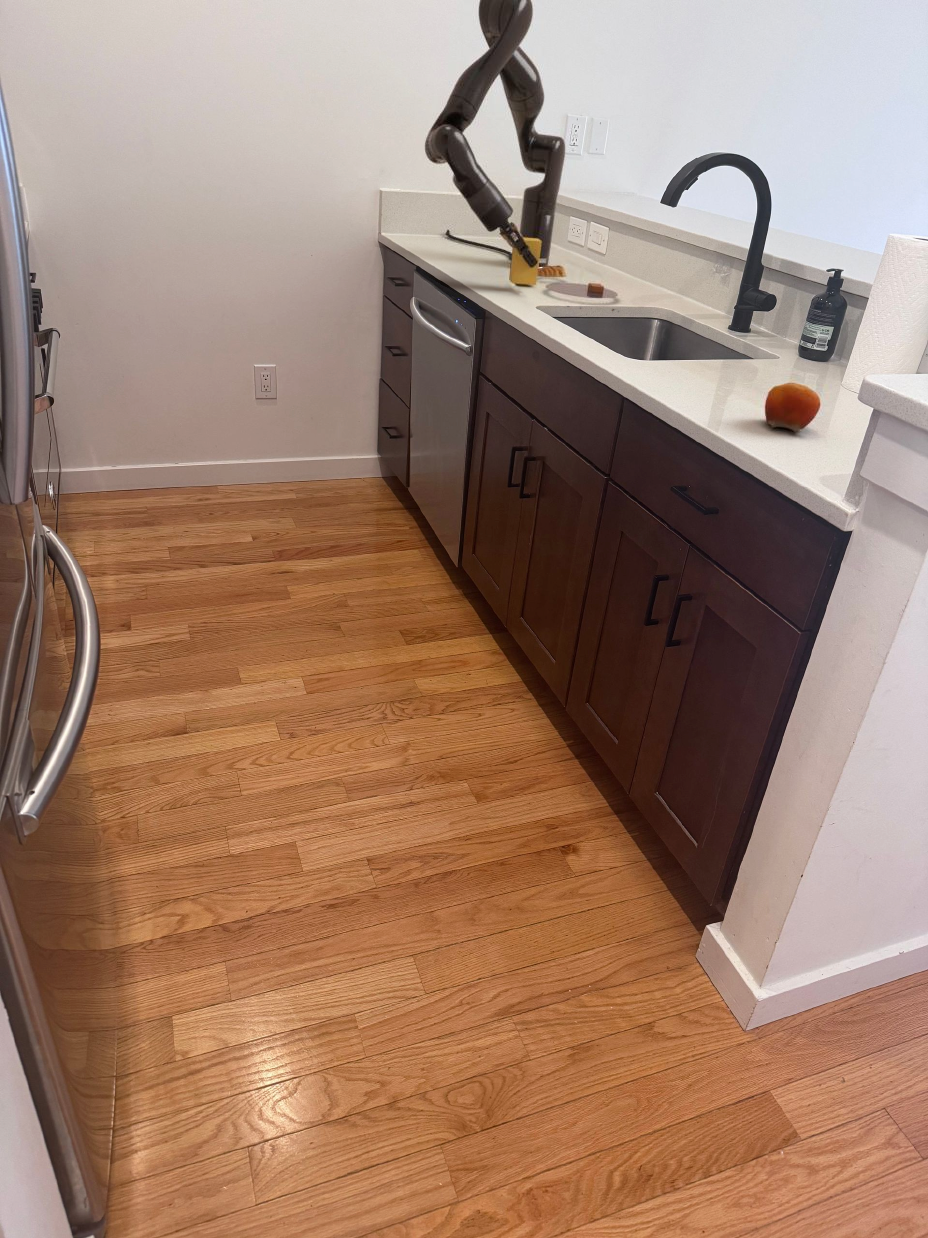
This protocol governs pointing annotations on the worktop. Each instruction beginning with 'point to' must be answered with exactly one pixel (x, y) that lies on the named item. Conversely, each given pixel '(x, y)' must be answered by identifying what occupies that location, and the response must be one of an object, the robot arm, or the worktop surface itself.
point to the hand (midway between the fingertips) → (532, 262)
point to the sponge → (525, 264)
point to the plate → (579, 290)
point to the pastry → (551, 271)
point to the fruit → (791, 406)
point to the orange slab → (595, 288)
